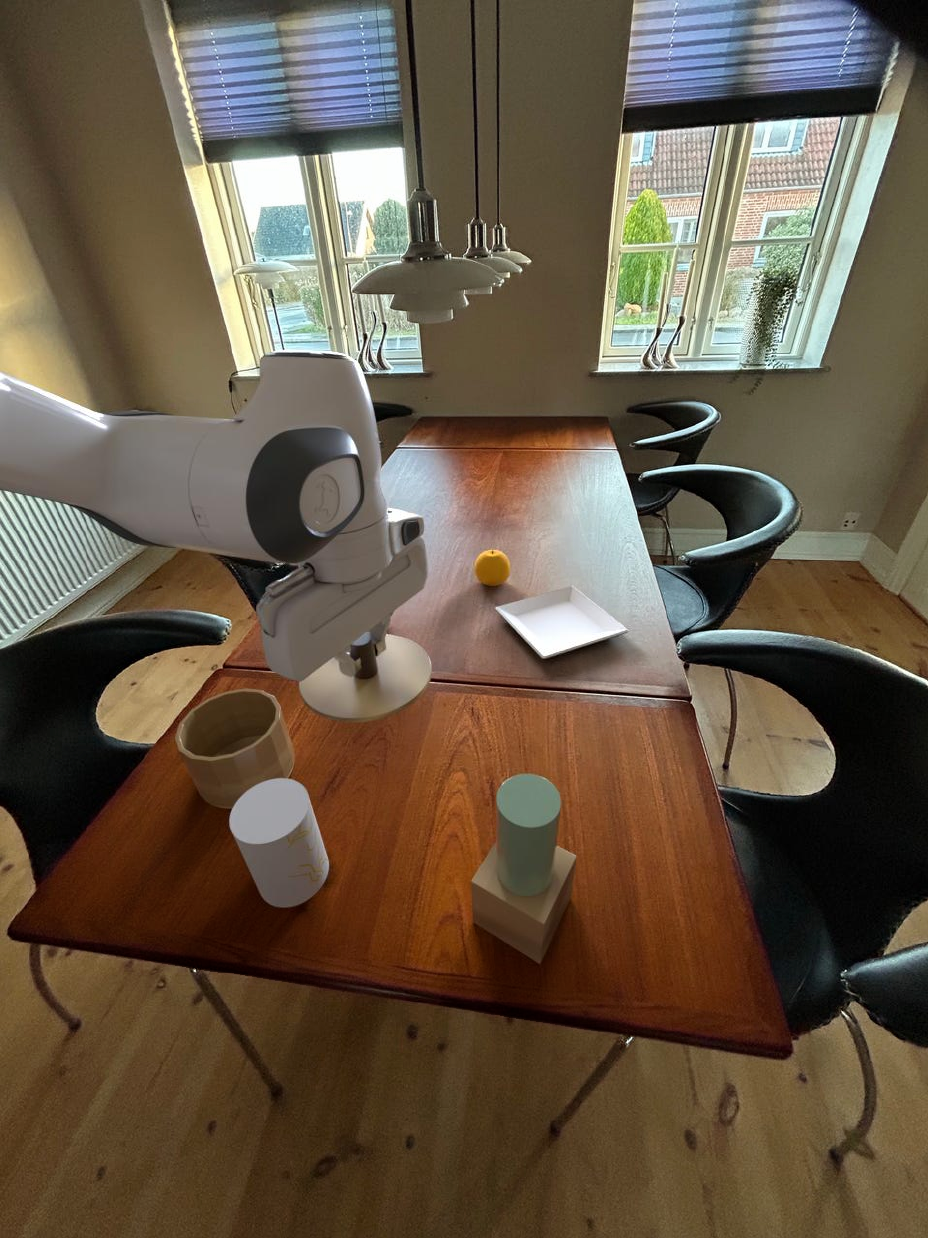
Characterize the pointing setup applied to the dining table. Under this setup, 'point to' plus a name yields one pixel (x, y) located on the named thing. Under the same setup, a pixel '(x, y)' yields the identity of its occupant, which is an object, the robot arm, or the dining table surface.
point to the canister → (526, 833)
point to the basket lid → (369, 682)
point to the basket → (235, 744)
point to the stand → (522, 906)
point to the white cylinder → (280, 841)
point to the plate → (560, 621)
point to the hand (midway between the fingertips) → (364, 661)
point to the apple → (492, 568)
